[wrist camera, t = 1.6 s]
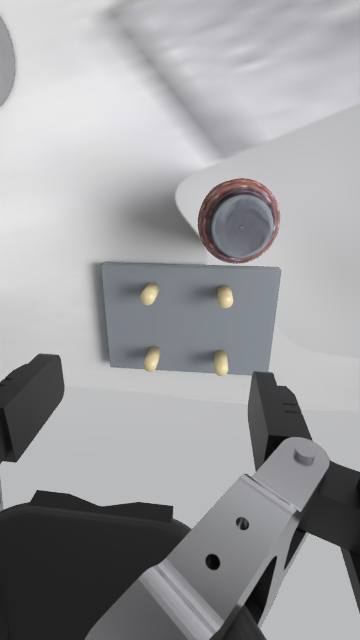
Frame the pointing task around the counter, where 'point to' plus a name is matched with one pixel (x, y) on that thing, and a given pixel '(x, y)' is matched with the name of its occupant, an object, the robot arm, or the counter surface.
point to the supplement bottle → (238, 220)
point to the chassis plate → (190, 316)
